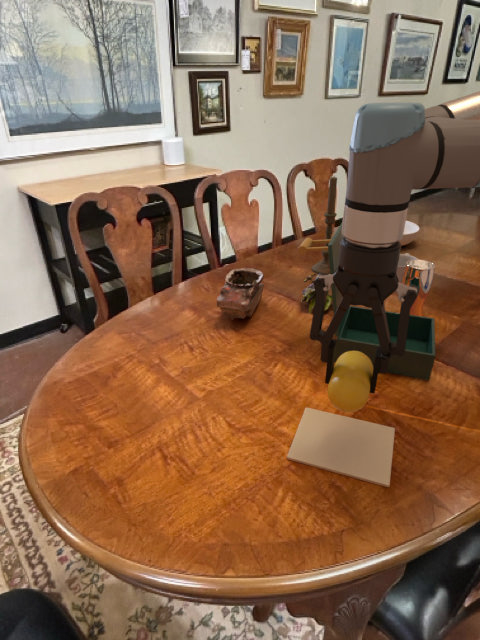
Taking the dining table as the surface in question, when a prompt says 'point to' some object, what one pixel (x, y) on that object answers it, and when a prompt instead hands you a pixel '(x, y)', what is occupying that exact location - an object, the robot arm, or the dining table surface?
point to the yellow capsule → (350, 381)
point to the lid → (333, 263)
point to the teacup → (403, 264)
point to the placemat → (344, 446)
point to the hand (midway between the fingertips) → (350, 383)
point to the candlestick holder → (328, 228)
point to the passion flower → (313, 295)
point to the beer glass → (419, 282)
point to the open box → (364, 339)
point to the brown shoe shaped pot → (241, 292)
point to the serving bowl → (409, 233)
